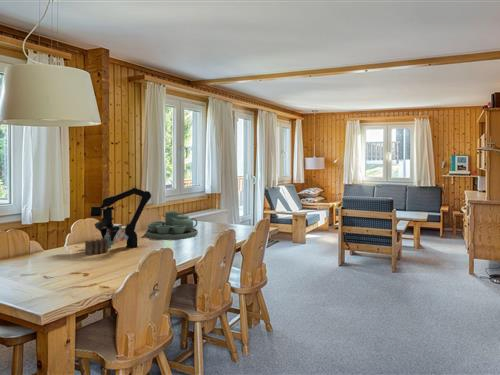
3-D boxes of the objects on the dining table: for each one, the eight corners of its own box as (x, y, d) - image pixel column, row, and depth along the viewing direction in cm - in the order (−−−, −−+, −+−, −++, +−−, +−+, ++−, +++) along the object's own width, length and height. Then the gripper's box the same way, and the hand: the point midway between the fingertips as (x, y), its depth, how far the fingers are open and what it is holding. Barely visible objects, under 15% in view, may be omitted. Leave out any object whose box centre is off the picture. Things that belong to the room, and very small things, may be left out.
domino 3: (98, 251, 271) (98, 239, 271) (102, 252, 268) (102, 240, 268) (96, 252, 270) (95, 239, 270) (100, 253, 267) (100, 240, 266)
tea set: (136, 234, 338) (136, 213, 337) (179, 229, 365) (179, 209, 364) (163, 241, 308) (163, 219, 307) (207, 235, 335) (208, 214, 334)
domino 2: (93, 252, 269) (93, 239, 268) (97, 253, 265) (97, 241, 265) (90, 253, 267) (90, 240, 267) (95, 254, 264) (95, 241, 264)
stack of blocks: (120, 238, 318) (120, 221, 317) (128, 238, 317) (128, 222, 316) (105, 243, 297) (105, 226, 296) (113, 244, 296) (113, 226, 295)
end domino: (106, 247, 286) (106, 235, 286) (110, 248, 283) (110, 236, 282) (104, 247, 285) (104, 235, 284) (108, 248, 282) (108, 236, 281)
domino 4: (103, 250, 274) (103, 238, 274) (107, 252, 271) (107, 239, 271) (101, 251, 273) (101, 238, 272) (105, 252, 270) (105, 239, 269)
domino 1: (87, 253, 266) (87, 240, 265) (92, 254, 263) (92, 241, 262) (85, 254, 265) (85, 241, 264) (89, 255, 261) (89, 242, 261)
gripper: (88, 216, 282) (88, 239, 283) (104, 219, 270) (104, 243, 271) (103, 214, 291) (103, 237, 292) (120, 217, 279) (120, 241, 280)
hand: (107, 240), depth 284 cm, fingers open, 9 cm apart
